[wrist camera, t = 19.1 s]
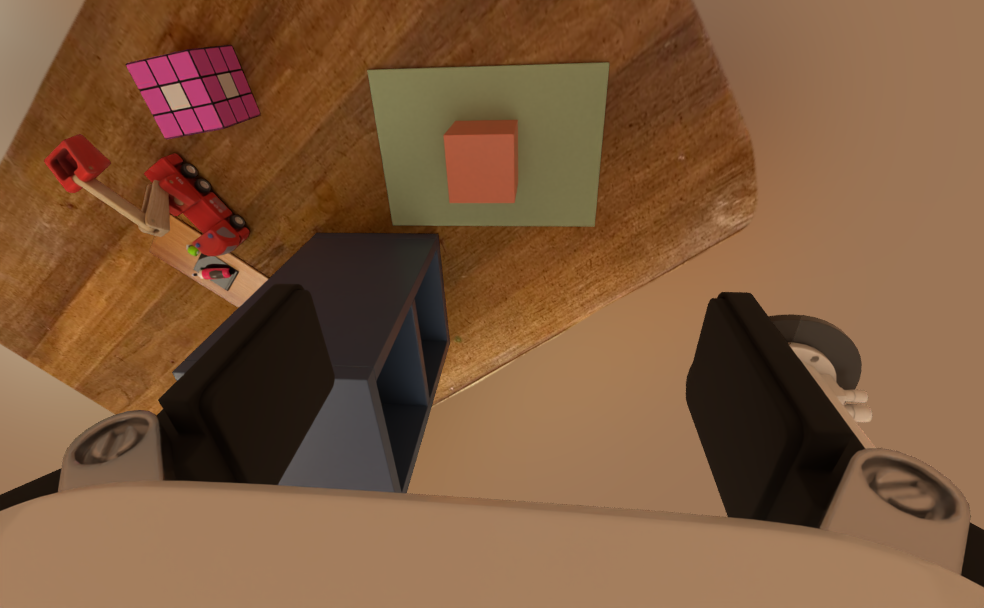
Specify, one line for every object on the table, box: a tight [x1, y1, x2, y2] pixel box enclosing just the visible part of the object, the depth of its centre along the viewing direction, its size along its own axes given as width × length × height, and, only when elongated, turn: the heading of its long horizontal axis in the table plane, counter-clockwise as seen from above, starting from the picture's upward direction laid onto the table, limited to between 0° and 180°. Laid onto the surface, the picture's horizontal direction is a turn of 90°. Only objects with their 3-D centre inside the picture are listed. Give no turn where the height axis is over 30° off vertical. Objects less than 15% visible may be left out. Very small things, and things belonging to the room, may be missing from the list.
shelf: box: [172, 233, 450, 493], centre depth 41 cm, size 13×14×22 cm
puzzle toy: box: [126, 45, 260, 139], centre depth 38 cm, size 6×6×6 cm
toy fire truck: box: [44, 134, 250, 256], centre depth 42 cm, size 3×14×10 cm, turn 32°
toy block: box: [443, 120, 518, 203], centre depth 39 cm, size 6×6×6 cm
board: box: [149, 213, 269, 308], centre depth 50 cm, size 6×12×2 cm, turn 50°
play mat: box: [367, 62, 609, 226], centre depth 41 cm, size 20×14×1 cm
